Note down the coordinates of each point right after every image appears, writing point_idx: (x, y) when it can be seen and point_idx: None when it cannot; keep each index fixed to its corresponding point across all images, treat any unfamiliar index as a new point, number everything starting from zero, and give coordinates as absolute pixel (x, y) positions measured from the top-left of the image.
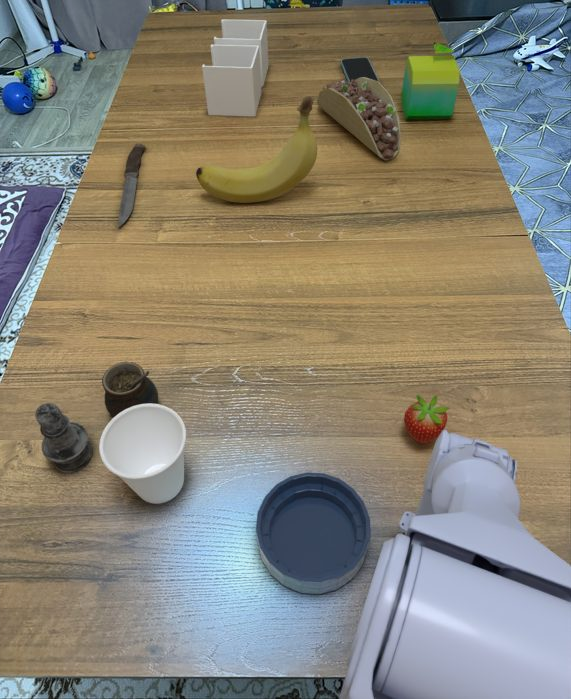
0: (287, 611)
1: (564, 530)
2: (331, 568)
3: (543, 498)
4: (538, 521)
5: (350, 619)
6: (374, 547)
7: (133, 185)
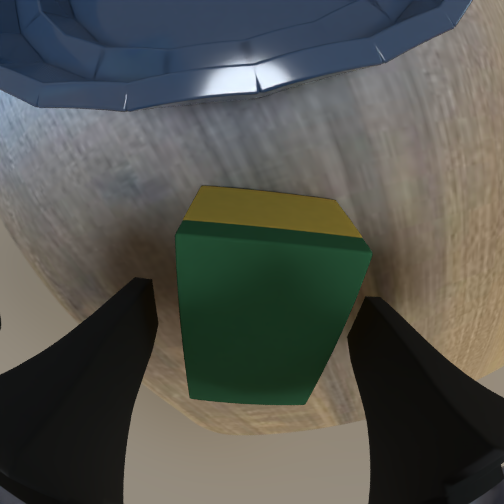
0: None
1: None
2: (126, 23)
3: None
4: None
5: (48, 154)
6: (282, 120)
7: None
